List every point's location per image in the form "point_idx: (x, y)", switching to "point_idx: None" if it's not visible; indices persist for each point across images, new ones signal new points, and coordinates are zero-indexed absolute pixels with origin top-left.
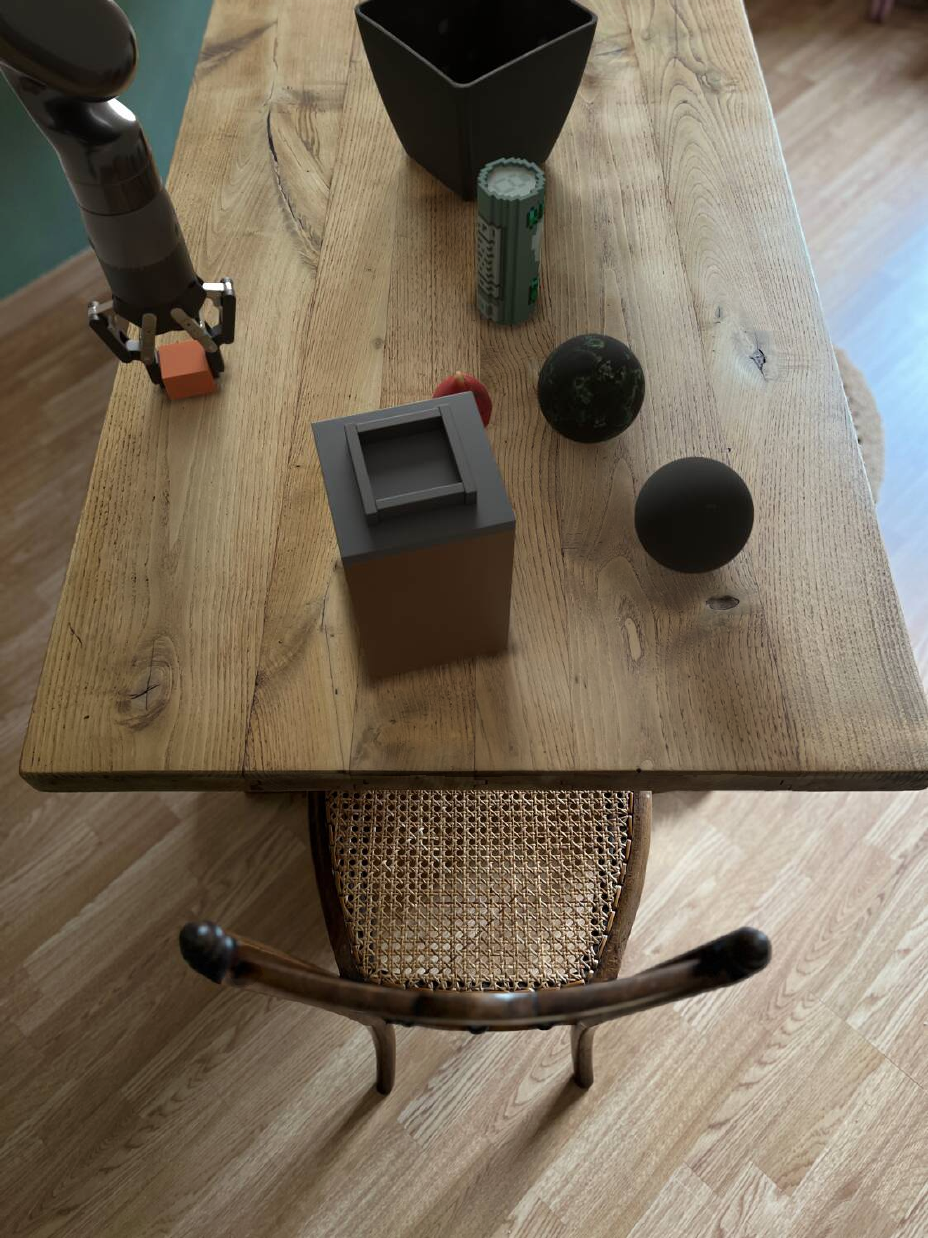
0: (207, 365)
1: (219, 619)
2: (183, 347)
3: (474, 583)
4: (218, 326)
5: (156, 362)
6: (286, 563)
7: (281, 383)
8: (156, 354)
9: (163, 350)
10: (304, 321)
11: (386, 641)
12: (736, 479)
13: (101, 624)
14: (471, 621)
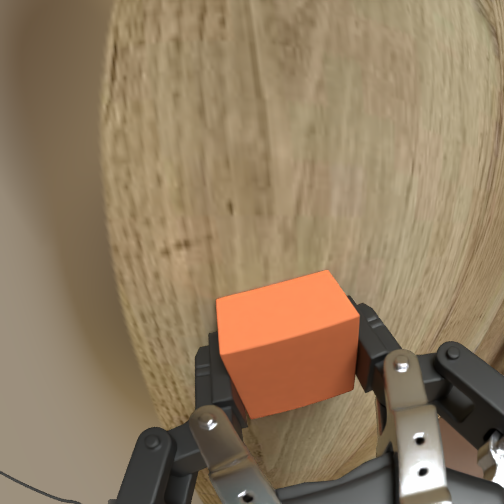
0: (353, 382)
1: (305, 480)
2: (300, 352)
3: None
4: (437, 384)
5: (243, 427)
6: (359, 454)
7: (431, 311)
8: (238, 412)
9: (241, 366)
10: (489, 166)
11: None
12: None
13: None
14: None
